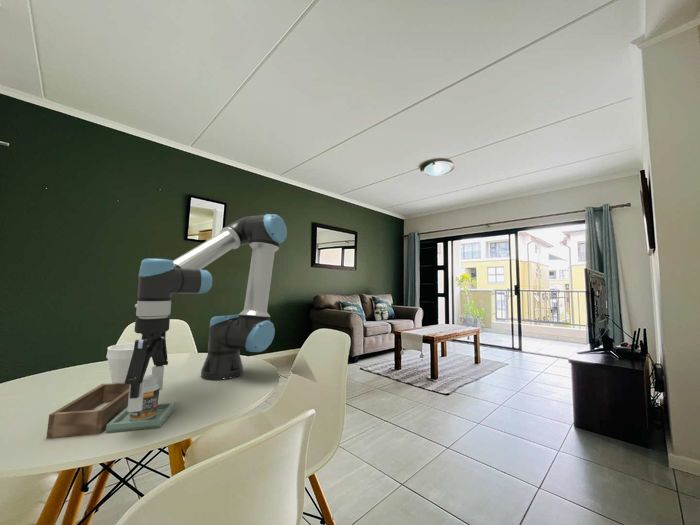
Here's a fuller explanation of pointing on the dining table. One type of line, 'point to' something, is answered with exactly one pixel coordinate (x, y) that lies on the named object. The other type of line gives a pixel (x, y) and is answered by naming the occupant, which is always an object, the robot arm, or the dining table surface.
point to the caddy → (89, 411)
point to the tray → (125, 424)
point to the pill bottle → (148, 399)
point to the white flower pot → (119, 361)
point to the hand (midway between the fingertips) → (146, 399)
